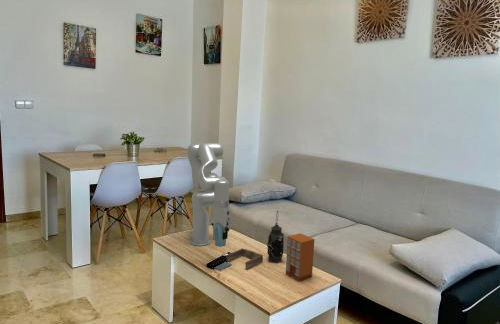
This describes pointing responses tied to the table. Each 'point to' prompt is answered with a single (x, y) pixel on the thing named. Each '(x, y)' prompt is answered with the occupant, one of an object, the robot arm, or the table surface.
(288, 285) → the table surface
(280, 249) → the lantern
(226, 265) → the coaster
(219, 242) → the jug
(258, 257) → the brown u-shaped frame
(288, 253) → the miniature building
